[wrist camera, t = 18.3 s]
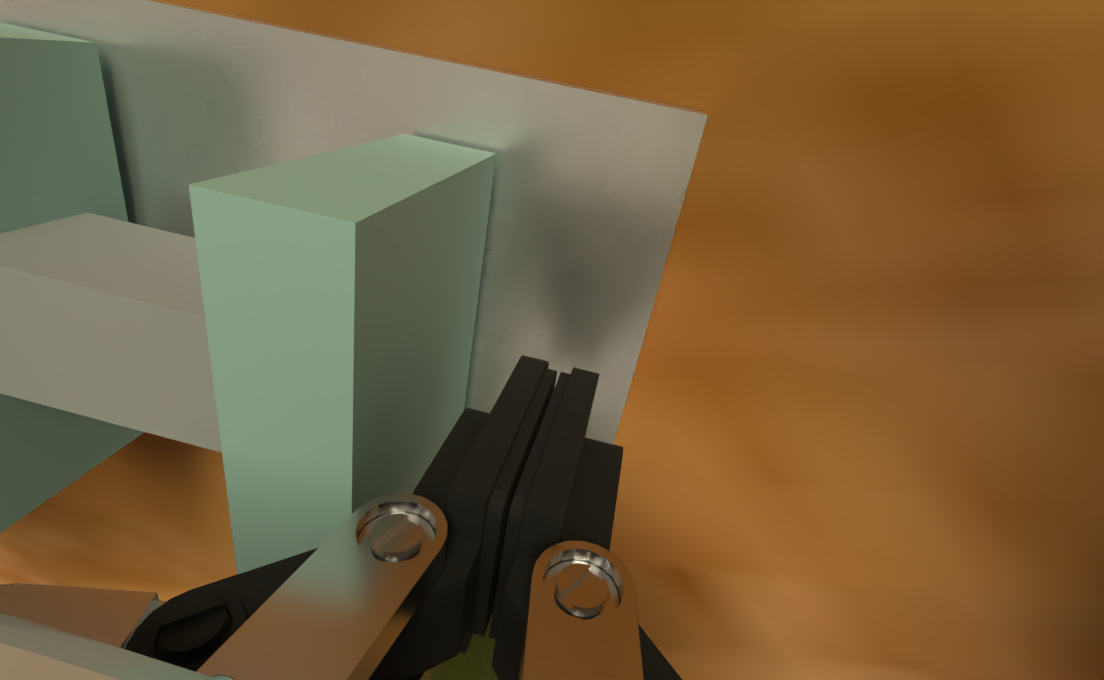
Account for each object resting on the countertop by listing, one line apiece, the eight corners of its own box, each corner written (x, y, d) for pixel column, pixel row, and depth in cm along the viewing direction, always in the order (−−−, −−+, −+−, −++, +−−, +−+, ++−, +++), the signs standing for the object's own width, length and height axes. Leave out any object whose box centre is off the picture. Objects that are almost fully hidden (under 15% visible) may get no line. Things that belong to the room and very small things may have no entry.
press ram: (499, 128, 11) (355, 177, 6) (453, 495, 16) (349, 710, 10) (-28, 16, 12) (-571, -30, 7) (72, 394, 17) (-205, 545, 11)
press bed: (702, 110, 12) (724, 128, 8) (589, 511, 18) (569, 641, 14) (-382, -111, 14) (-795, -185, 10) (-181, 310, 20) (-397, 371, 16)
